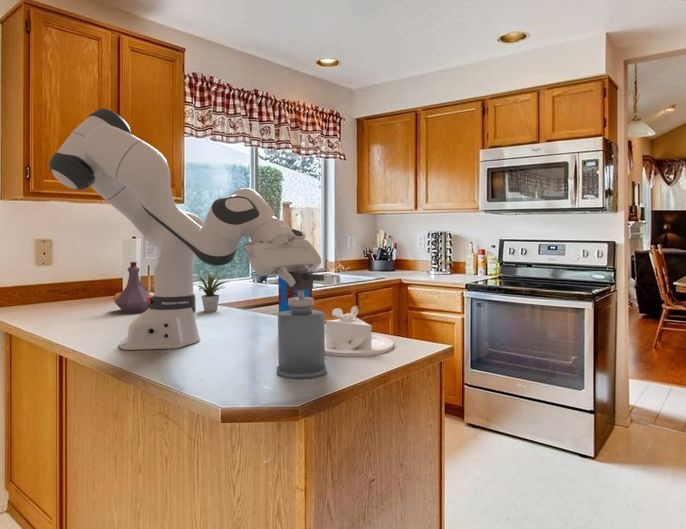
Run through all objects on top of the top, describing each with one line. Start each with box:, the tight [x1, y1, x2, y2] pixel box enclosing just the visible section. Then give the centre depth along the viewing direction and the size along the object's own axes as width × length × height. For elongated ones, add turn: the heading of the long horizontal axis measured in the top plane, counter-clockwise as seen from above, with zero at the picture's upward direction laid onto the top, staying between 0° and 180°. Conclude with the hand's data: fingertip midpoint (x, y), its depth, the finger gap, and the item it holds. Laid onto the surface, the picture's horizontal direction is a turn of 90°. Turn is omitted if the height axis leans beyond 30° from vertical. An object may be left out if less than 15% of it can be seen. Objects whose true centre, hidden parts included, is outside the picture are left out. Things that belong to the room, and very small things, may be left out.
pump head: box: [289, 271, 325, 298], centre depth 118 cm, size 8×4×6 cm, turn 52°
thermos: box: [277, 275, 313, 313], centre depth 164 cm, size 11×11×25 cm
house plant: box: [196, 271, 230, 313], centre depth 206 cm, size 14×14×16 cm
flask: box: [114, 261, 152, 314], centre depth 208 cm, size 16×16×20 cm
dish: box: [325, 305, 395, 357], centre depth 147 cm, size 25×25×11 cm
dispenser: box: [275, 297, 328, 380], centre depth 120 cm, size 12×12×18 cm
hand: (303, 283), depth 119 cm, fingers closed on pump head, 4 cm apart
